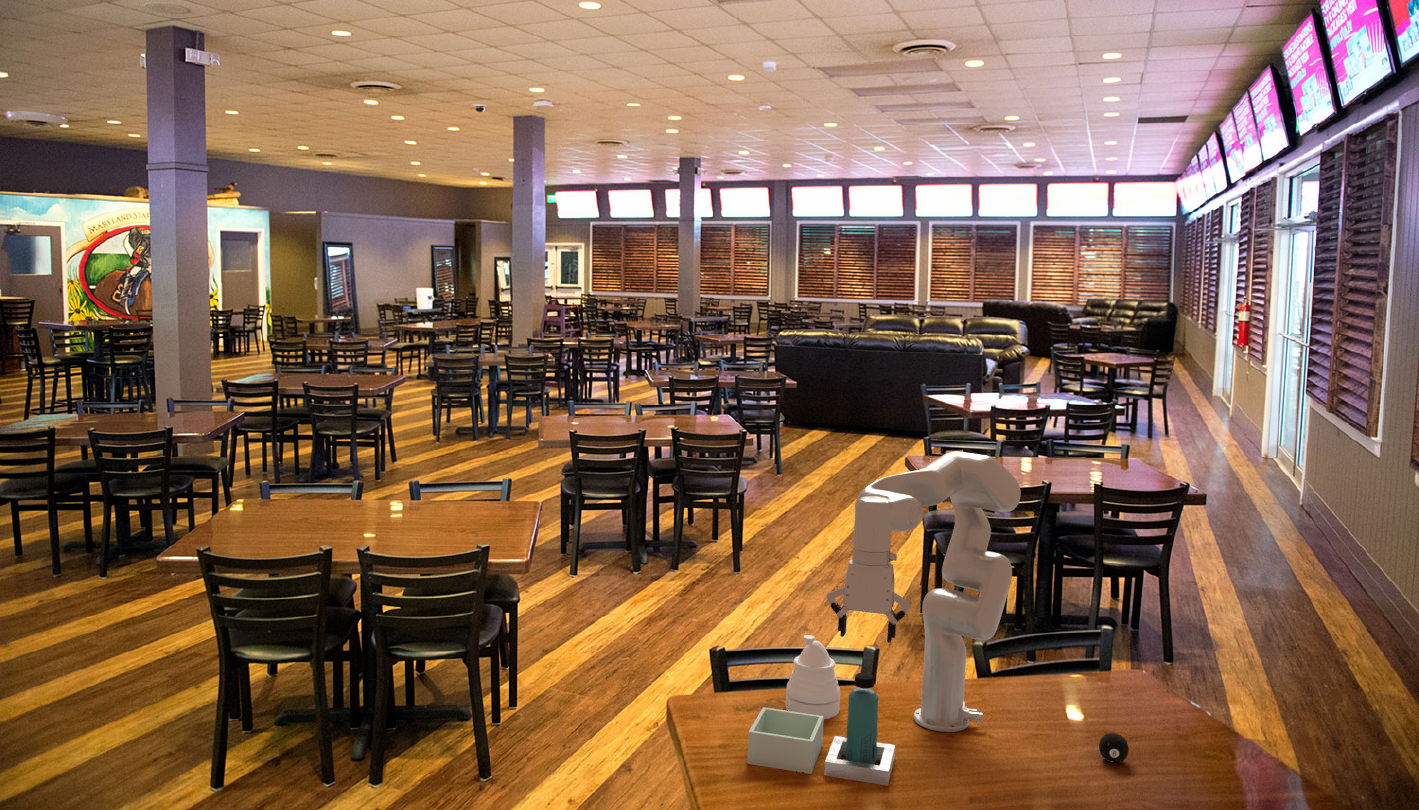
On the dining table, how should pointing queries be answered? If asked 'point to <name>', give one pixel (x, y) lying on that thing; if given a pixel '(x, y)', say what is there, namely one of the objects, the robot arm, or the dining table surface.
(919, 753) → the dining table surface
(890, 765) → the socket frame
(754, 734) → the bin
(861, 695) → the beverage bottle
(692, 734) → the dining table surface
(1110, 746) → the billiard ball
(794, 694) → the honey pot
